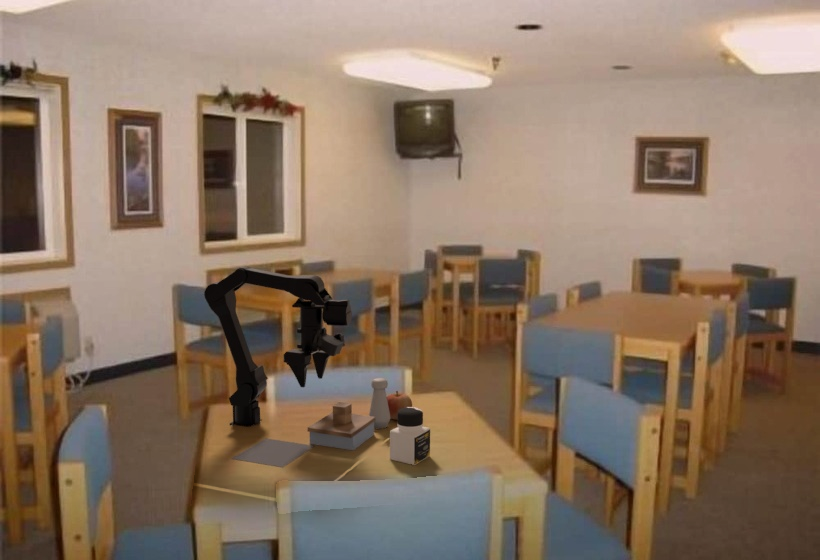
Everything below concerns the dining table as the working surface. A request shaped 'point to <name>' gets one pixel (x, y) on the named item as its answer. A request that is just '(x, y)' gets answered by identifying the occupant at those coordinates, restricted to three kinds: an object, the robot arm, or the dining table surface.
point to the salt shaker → (379, 403)
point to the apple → (397, 403)
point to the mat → (273, 452)
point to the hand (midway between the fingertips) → (311, 382)
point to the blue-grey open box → (342, 439)
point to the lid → (342, 422)
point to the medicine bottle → (410, 437)
